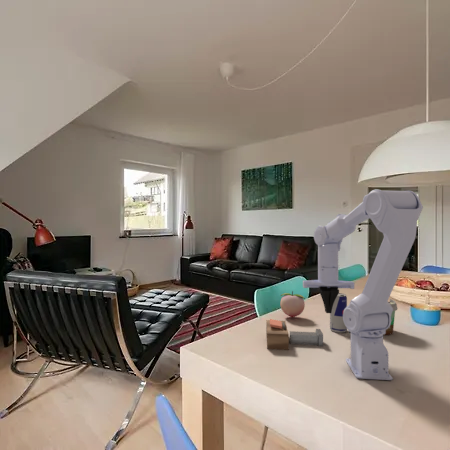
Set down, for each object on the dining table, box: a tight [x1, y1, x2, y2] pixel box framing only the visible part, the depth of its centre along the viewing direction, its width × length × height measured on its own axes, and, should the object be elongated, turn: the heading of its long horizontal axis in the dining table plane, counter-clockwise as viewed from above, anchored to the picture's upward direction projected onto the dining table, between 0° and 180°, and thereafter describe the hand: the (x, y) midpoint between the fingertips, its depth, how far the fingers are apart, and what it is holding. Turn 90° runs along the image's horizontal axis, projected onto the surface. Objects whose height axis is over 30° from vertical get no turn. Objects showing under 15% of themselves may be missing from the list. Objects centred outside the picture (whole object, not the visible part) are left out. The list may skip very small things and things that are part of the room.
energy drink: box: [329, 292, 348, 334], centre depth 101 cm, size 5×5×12 cm
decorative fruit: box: [280, 290, 306, 318], centre depth 114 cm, size 9×8×10 cm
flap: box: [269, 318, 282, 329], centre depth 91 cm, size 5×1×4 cm
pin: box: [289, 328, 324, 347], centre depth 90 cm, size 5×9×4 cm, turn 83°
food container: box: [383, 298, 398, 336], centre depth 98 cm, size 12×6×10 cm, turn 105°
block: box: [265, 319, 290, 351], centre depth 91 cm, size 12×6×5 cm, turn 173°
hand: (328, 312), depth 89 cm, fingers closed
